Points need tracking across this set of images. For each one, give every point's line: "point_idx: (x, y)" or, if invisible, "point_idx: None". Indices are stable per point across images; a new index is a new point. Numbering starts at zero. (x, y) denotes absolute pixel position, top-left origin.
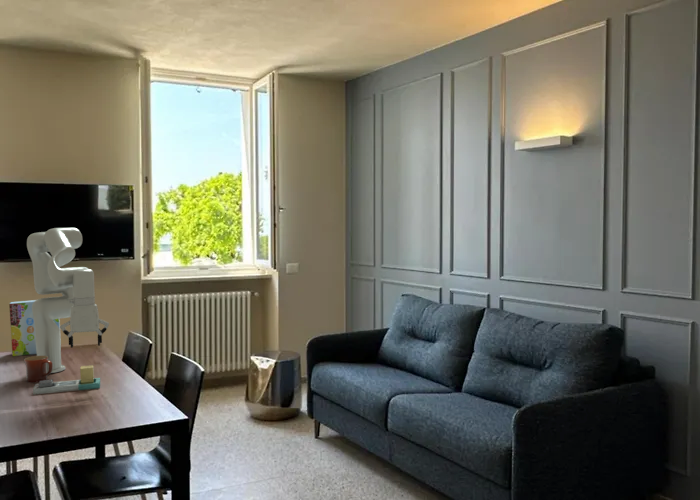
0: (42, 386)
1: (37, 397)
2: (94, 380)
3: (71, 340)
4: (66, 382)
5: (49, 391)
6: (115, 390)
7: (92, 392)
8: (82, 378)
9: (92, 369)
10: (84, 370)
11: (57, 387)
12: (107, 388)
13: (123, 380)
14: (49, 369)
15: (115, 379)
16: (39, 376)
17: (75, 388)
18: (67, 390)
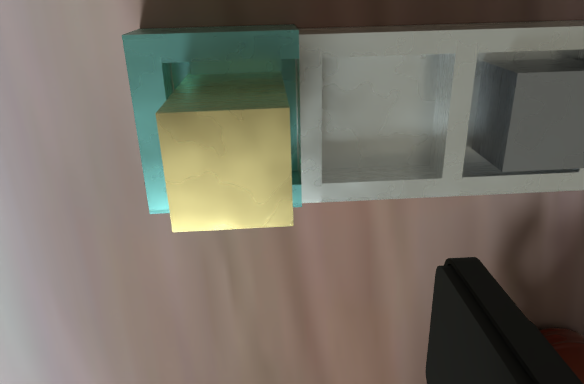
0: (574, 66)
1: (571, 17)
2: None
3: (526, 345)
4: (392, 177)
5: (509, 24)
6: (17, 9)
7: (193, 14)
8: (268, 85)
9: (165, 108)
10: (246, 103)
11: (460, 30)
12: (97, 97)
13: (27, 278)
14: None
15: (90, 316)
16: None
17: (320, 31)
18: (378, 29)
